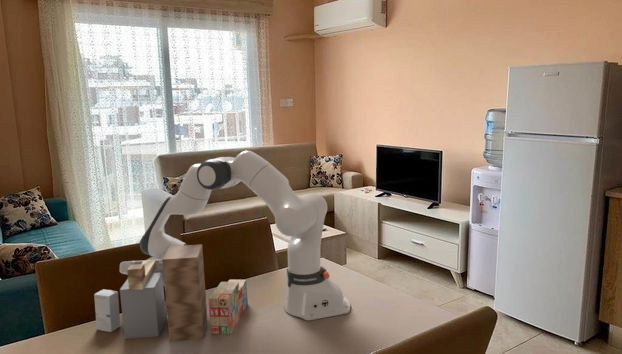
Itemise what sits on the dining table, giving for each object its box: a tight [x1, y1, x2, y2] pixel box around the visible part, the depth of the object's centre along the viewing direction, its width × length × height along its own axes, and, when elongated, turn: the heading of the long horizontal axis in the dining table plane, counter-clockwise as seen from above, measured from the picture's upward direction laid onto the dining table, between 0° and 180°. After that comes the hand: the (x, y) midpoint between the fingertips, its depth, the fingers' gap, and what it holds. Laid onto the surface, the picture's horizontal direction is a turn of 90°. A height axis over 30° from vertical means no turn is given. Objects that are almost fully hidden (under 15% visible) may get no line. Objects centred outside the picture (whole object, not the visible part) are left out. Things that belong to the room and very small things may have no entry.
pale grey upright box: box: [119, 272, 167, 340], centre depth 141 cm, size 10×12×16 cm
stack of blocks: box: [208, 279, 249, 336], centre depth 147 cm, size 21×6×12 cm, turn 173°
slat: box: [126, 260, 156, 290], centre depth 142 cm, size 4×18×6 cm, turn 7°
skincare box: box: [93, 288, 121, 333], centre depth 142 cm, size 6×4×12 cm
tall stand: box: [162, 244, 208, 343], centre depth 138 cm, size 10×12×26 cm
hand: (146, 262), depth 147 cm, fingers open, 8 cm apart
